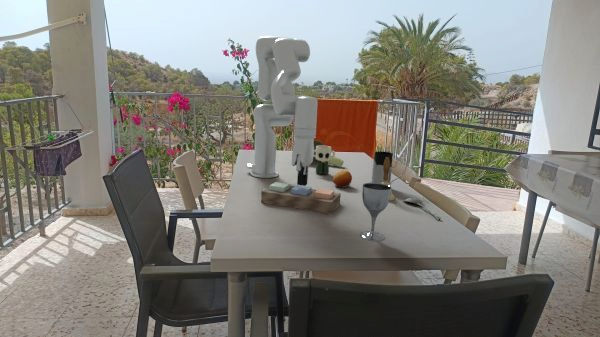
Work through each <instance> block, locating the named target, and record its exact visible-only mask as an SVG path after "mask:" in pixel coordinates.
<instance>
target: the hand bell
mask: <svg viewBox="0 0 600 337" xmlns="http://www.w3.org/2000/svg"><path fill="white" fill-rule="evenodd" d="M383 170H384V179H383V182H382V184H386V185H389V186H391V187H392V183H391V184H389V183H388V172H389V170H390V160H389V157H386V158H385V161H384V164H383ZM392 191H393V190H391V195H390V200H389V202H390V201H394V200H395V199H396V198H395V196H394V194H393V192H392Z"/></svg>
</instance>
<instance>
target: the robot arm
mask: <svg viewBox="0 0 600 337" xmlns="http://www.w3.org/2000/svg"><path fill="white" fill-rule="evenodd" d="M255 55H256V60H257V65H258V78H257V80H258V81H257V82H258V83H257V94H258V98H259V99H260V101H265V102H272V103H271V104H270V103H264V104H263V103H262V104H257V105H256V106H255V107H254V109H253V114H252V115H253V120H254V121H253V123H254V156H253V157H254V159H253V161H254V162H253V164H252V163H247V164H246V169H250V170H251V171H250V175H251V176H252V177H255V178H262V179H263V178H264V179H269V178H270V179H271V178H272V179H273V178H276V177H278V176H279V172H278V171H277V170H276V162H277V161H276V160H277V159H276V158H277V135H276V132H275V131H274V129H273V128H272V127H288V126H290V125H292V123H293V121H294V124H293V126H294V127H293V128H294V129H293V138H294V140H293V144H292V154H291V166H293V167H295V166H296V168H295V170H296V172H297V180H296V182H297V183H296V184H297V185H300V186H308V180H309V178H308V176H309V167H310V165H311V164H312V163H314V162H313V154H314V141H315V140H314V139H316V138H317V137H316V135H317V121H318V120H317V118H318V99H317V98H316V97H314V96H310V95H305V94H295V85H294V83H293V82H295V81H297V79H299V78H300V77H301V67H300V63H306V62H308V61H309V59H310V56H311V47H310V45H309V44H308V41H307V40H304V39H298V38H295V37H293V38H292V37H284V36H283V37H282V36H276V35H275V36H274V35H272V36H271V35H264V36H260V37H258V39H257V40H256V42H255ZM293 119H294V120H293Z"/></svg>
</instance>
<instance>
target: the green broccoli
mask: <svg viewBox="0 0 600 337" xmlns="http://www.w3.org/2000/svg"><path fill="white" fill-rule="evenodd" d="M320 145H324V143H323V142H321V141H320V140H318V139H317V140H314V150H316V146H320ZM314 155H316V152H314ZM314 160H315V161H314ZM314 162H318V160H317V159H316V157H313V162H312V163H314ZM327 162H328V165H332V166H335V167H337V168H343V165H344V159H342V158H338V157H336V156H335V157H334V158H330V160H329V161H327Z"/></svg>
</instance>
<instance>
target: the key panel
mask: <svg viewBox="0 0 600 337" xmlns="http://www.w3.org/2000/svg"><path fill="white" fill-rule="evenodd" d="M295 186H296V185H295ZM295 186H293V185H290V189H289V190H288V191H286V192H279V191H272V190H269V188H270V186H268V187H267V188H265V189H263V190H261V191H260V192H261V196H260V202H261V203H265V204H269V203H270V204H271V205H275V206H281V207H282V206H283V207H287V208H293V209H299V210H306V211H313V212H317V213H325V214H330V215H331V214H332V213H333V212H334V211H335V210H336V209H337V207H339V206H340V205H341V195H342V194H341V193H340V192H335V191H334V197H333V198H332V199H331V200H330V199H323V198H317V197H314V192H315V191H316V190H317V189H313V188H312V191H311V193H310V194H309V195H308V196H304V195H298V194H291V189H292V188H293V187H295Z"/></svg>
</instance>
